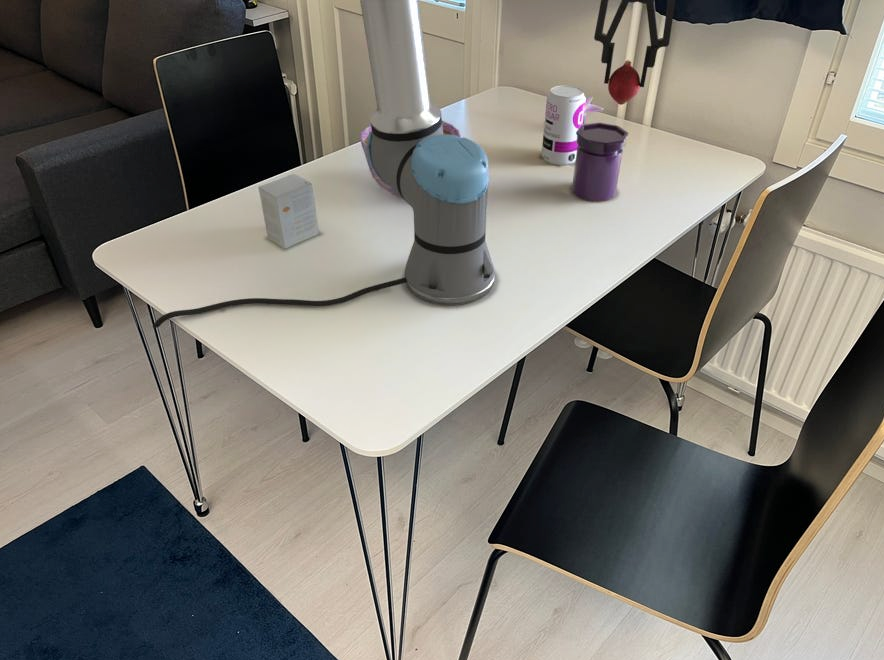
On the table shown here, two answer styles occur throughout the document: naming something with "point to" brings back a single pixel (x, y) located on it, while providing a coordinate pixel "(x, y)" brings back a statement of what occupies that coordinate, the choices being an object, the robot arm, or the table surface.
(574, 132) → the supplement can
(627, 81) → the onion
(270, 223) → the small box
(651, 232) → the table surface
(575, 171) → the jar
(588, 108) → the lily
